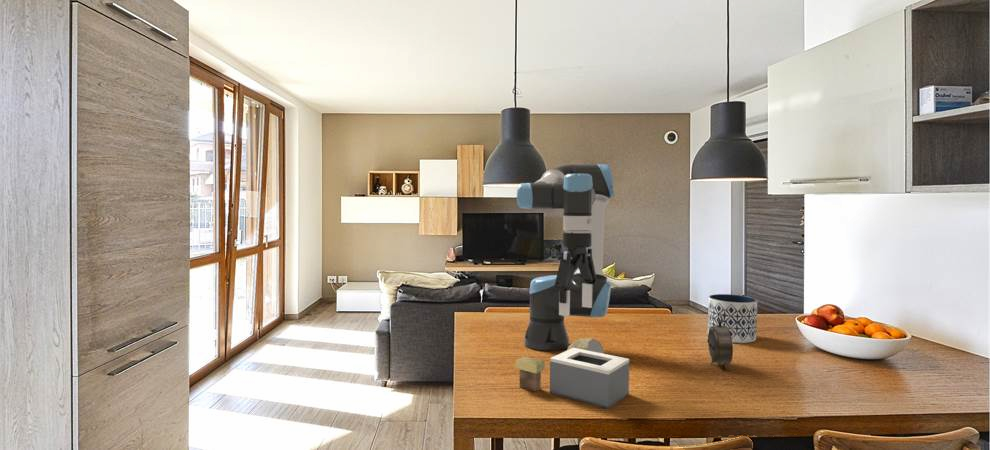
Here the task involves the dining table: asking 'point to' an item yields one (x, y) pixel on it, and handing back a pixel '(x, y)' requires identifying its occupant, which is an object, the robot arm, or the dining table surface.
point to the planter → (734, 315)
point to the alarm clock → (720, 344)
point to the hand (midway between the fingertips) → (576, 311)
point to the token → (530, 364)
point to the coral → (587, 345)
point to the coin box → (589, 377)
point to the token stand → (530, 380)
